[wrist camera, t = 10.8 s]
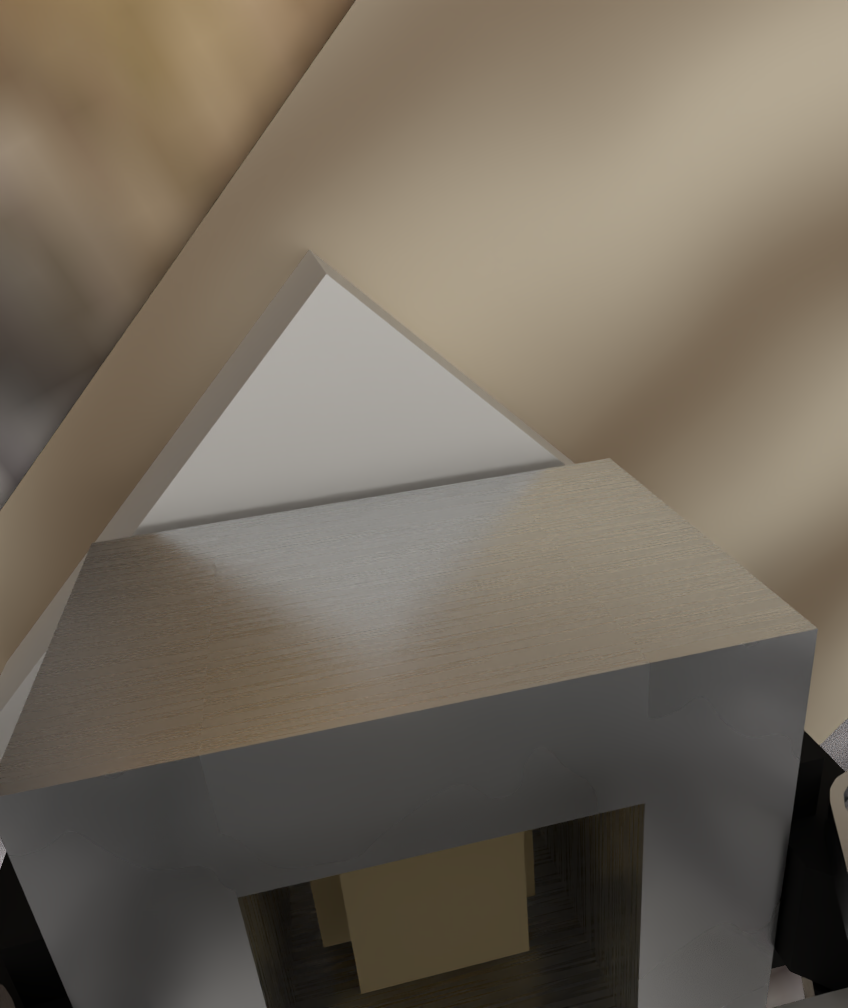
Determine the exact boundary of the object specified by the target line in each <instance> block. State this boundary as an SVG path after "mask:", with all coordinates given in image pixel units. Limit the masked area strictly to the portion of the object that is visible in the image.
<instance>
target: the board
mask: <svg viewBox="0 0 848 1008" xmlns="http://www.w3.org/2000/svg"><path fill="white" fill-rule="evenodd" d="M309 250H311V251H312V252H313V253H314V254H316V255H317V256H318V257H319V258H321V259H322V260H323V261H324V262H325V263H327V264H328V265H329V266H330V267H332V268H333V269H334V270H335V271H337V272H338V273H339V274H340V275H342V276H343V277H344V278H345V279H347V280H348V281H349V282H350V283H352V284H353V285H354V286H355V287H356V288H358V289H359V290H360V291H361V292H363V293H364V294H365V295H366V296H368V297H369V298H370V299H371V300H373V301H374V302H375V303H376V304H378V305H379V306H380V307H381V308H383V309H384V310H385V311H386V312H388V313H389V314H390V315H391V316H392V317H394V318H395V319H396V320H397V321H399V322H400V323H401V324H402V325H404V326H405V327H406V328H407V329H409V330H410V331H411V332H412V333H414V334H415V335H416V336H417V337H419V338H420V339H421V340H422V341H423V342H425V343H426V344H427V345H428V346H430V347H431V348H432V349H433V350H435V351H436V352H437V353H438V354H440V355H441V356H442V357H443V358H445V359H446V360H447V361H448V362H450V363H451V364H452V365H453V366H455V367H456V368H457V369H458V370H459V371H461V372H462V373H463V374H464V375H466V376H467V377H468V378H469V379H471V380H472V381H473V382H474V383H476V384H477V385H478V386H479V387H481V388H482V389H483V390H484V391H486V392H487V393H488V394H489V395H490V396H492V397H493V398H494V399H495V400H497V401H498V402H499V403H500V404H502V405H503V406H504V407H505V408H507V409H508V410H509V411H510V412H512V413H513V414H514V415H515V416H517V417H518V418H519V419H520V420H522V421H523V422H524V423H525V424H526V425H528V426H529V427H530V428H531V429H533V430H534V431H535V432H536V433H538V434H539V435H540V436H541V437H543V438H544V439H545V440H546V441H548V442H549V443H550V444H551V445H553V446H554V447H555V448H556V449H557V450H559V451H560V452H561V453H562V454H564V455H565V456H566V457H567V458H569V459H570V460H571V461H572V462H574V463H575V464H578V463H584V462H590V461H596V460H602V459H608V458H610V459H611V460H613V461H614V462H615V463H616V464H617V465H619V466H620V467H621V468H622V469H624V470H625V471H626V472H627V473H628V474H630V475H631V476H632V477H633V478H635V479H636V480H637V481H638V482H639V483H641V484H642V485H643V486H644V487H646V488H647V489H648V490H649V491H650V492H652V493H653V494H654V495H655V496H657V497H658V498H659V499H660V500H661V501H663V502H664V503H665V504H666V505H668V506H669V507H670V508H671V509H672V510H674V511H675V512H676V513H677V514H679V515H680V516H681V517H682V518H683V519H685V520H686V521H687V522H688V523H690V524H691V525H692V526H693V527H694V528H696V529H697V530H698V531H699V532H701V533H702V534H703V535H704V536H705V537H707V538H708V539H709V540H710V541H712V542H713V543H714V544H715V545H716V546H718V547H719V548H720V549H721V550H723V551H724V552H725V553H726V554H727V555H729V556H730V557H731V558H732V559H734V560H735V561H736V562H737V563H738V564H740V565H741V566H742V567H743V568H745V569H746V570H747V571H748V572H749V573H751V574H752V575H753V576H754V577H756V578H757V579H758V580H759V581H760V582H762V583H763V584H764V585H765V586H767V587H768V588H769V589H770V590H771V591H773V592H774V593H775V594H776V595H778V596H779V597H780V598H781V599H782V600H784V601H785V602H786V603H787V604H789V605H790V606H791V607H792V608H793V609H795V610H796V611H797V612H798V613H800V614H801V615H802V616H803V617H804V618H806V619H807V620H808V621H809V622H811V623H812V624H813V625H814V626H815V627H817V628H818V632H817V639H816V646H815V654H814V661H813V668H812V675H811V683H810V690H809V697H808V704H807V712H806V719H805V726H804V730H805V731H806V732H807V733H808V734H809V735H810V736H811V737H812V739H813V740H814V741H815V742H816V743H817V744H818V745H819V746H820V745H821V744H822V743H823V742H824V741H825V740H826V739H827V738H828V737H829V736H830V735H831V734H832V733H833V732H834V731H835V730H836V729H837V728H838V727H839V726H840V725H841V724H842V723H843V722H844V721H845V720H846V719H847V718H848V0H356V1H355V2H354V4H353V5H352V7H351V8H350V9H349V11H348V12H347V14H346V15H345V17H344V18H343V19H342V21H341V22H340V24H339V25H338V27H337V28H336V29H335V31H334V32H333V34H332V35H331V37H330V38H329V40H328V41H327V42H326V44H325V45H324V47H323V48H322V50H321V51H320V52H319V54H318V55H317V57H316V58H315V60H314V61H313V63H312V64H311V65H310V67H309V68H308V70H307V71H306V73H305V74H304V75H303V77H302V78H301V80H300V81H299V83H298V84H297V86H296V87H295V88H294V90H293V91H292V93H291V94H290V96H289V97H288V98H287V100H286V101H285V103H284V104H283V106H282V107H281V108H280V110H279V111H278V113H277V114H276V116H275V117H274V119H273V120H272V121H271V123H270V124H269V126H268V127H267V129H266V130H265V131H264V133H263V134H262V136H261V137H260V139H259V140H258V142H257V143H256V144H255V146H254V147H253V149H252V150H251V152H250V153H249V154H248V156H247V157H246V159H245V160H244V162H243V163H242V164H241V166H240V167H239V169H238V170H237V172H236V173H235V175H234V176H233V177H232V179H231V180H230V182H229V183H228V185H227V186H226V187H225V189H224V190H223V192H222V193H221V195H220V196H219V198H218V199H217V200H216V202H215V203H214V205H213V206H212V208H211V209H210V210H209V212H208V213H207V215H206V216H205V218H204V219H203V220H202V222H201V223H200V225H199V226H198V228H197V229H196V231H195V232H194V233H193V235H192V236H191V238H190V239H189V241H188V242H187V243H186V245H185V246H184V248H183V249H182V251H181V252H180V254H179V255H178V256H177V258H176V259H175V261H174V262H173V264H172V265H171V266H170V268H169V269H168V271H167V272H166V274H165V275H164V276H163V278H162V279H161V281H160V282H159V284H158V285H157V287H156V288H155V289H154V291H153V292H152V294H151V295H150V297H149V298H148V299H147V301H146V302H145V304H144V305H143V307H142V308H141V310H140V311H139V312H138V314H137V315H136V317H135V318H134V320H133V321H132V322H131V324H130V325H129V327H128V328H127V330H126V331H125V332H124V334H123V335H122V337H121V338H120V340H119V341H118V343H117V344H116V345H115V347H114V348H113V350H112V351H111V353H110V354H109V355H108V357H107V358H106V360H105V361H104V363H103V364H102V366H101V367H100V368H99V370H98V371H97V373H96V374H95V376H94V377H93V378H92V380H91V381H90V383H89V384H88V386H87V387H86V389H85V390H84V391H83V393H82V394H81V396H80V397H79V399H78V400H77V401H76V403H75V404H74V406H73V407H72V409H71V410H70V411H69V413H68V414H67V416H66V417H65V419H64V420H63V422H62V423H61V424H60V426H59V427H58V429H57V430H56V432H55V433H54V434H53V436H52V437H51V439H50V440H49V442H48V443H47V445H46V446H45V447H44V449H43V450H42V452H41V453H40V455H39V456H38V457H37V459H36V460H35V462H34V463H33V465H32V466H31V467H30V469H29V470H28V472H27V473H26V475H25V476H24V478H23V479H22V480H21V482H20V483H19V485H18V486H17V488H16V489H15V490H14V492H13V493H12V495H11V496H10V498H9V499H8V501H7V502H6V503H5V505H4V506H3V508H2V509H1V511H0V675H1V673H2V671H3V669H4V667H5V665H6V663H7V661H8V660H9V658H10V657H11V656H12V654H13V653H14V652H15V650H16V649H17V647H18V646H19V645H20V643H21V642H22V641H23V639H24V638H25V637H26V635H27V634H28V632H29V631H30V630H31V628H32V627H33V626H34V624H35V623H36V622H37V620H38V619H39V617H40V616H41V615H42V613H43V612H44V611H45V609H46V608H47V607H48V605H49V604H50V602H51V601H52V600H53V598H54V597H55V596H56V594H57V593H58V592H59V590H60V589H61V587H62V586H63V585H64V583H65V582H66V581H67V579H68V578H69V577H70V575H71V574H72V573H73V571H74V570H75V568H76V567H77V566H78V564H79V563H80V562H81V560H82V559H83V558H84V556H85V555H86V553H87V552H88V551H89V549H90V546H91V544H92V543H95V541H96V540H97V538H98V537H99V536H100V534H101V533H102V532H103V530H104V529H105V528H106V526H107V525H108V523H109V522H110V521H111V519H112V518H113V517H114V515H115V514H116V513H117V511H118V510H119V508H120V507H121V506H122V504H123V503H124V502H125V500H126V499H127V498H128V496H129V495H130V493H131V492H132V491H133V489H134V488H135V487H136V485H137V484H138V483H139V481H140V480H141V478H142V477H143V476H144V474H145V473H146V472H147V470H148V469H149V468H150V466H151V465H152V463H153V462H154V461H155V459H156V458H157V457H158V455H159V454H160V453H161V451H162V450H163V448H164V447H165V446H166V444H167V443H168V442H169V440H170V439H171V438H172V436H173V435H174V433H175V432H176V431H177V429H178V428H179V427H180V425H181V424H182V423H183V421H184V420H185V418H186V417H187V416H188V414H189V413H190V412H191V410H192V409H193V408H194V406H195V405H196V403H197V402H198V401H199V399H200V398H201V397H202V395H203V394H204V393H205V391H206V390H207V388H208V387H209V386H210V384H211V383H212V382H213V380H214V379H215V378H216V376H217V375H218V373H219V372H220V371H221V369H222V368H223V367H224V365H225V364H226V363H227V361H228V360H229V358H230V357H231V356H232V354H233V353H234V352H235V350H236V349H237V348H238V346H239V345H240V343H241V342H242V341H243V339H244V338H245V337H246V335H247V334H248V333H249V331H250V330H251V328H252V327H253V326H254V324H255V323H256V322H257V320H258V319H259V318H260V316H261V315H262V313H263V312H264V311H265V309H266V308H267V307H268V305H269V304H270V303H271V301H272V300H273V298H274V297H275V296H276V294H277V293H278V292H279V290H280V289H281V288H282V286H283V285H284V283H285V282H286V281H287V279H288V278H289V277H290V275H291V274H292V273H293V271H294V270H295V268H296V267H297V266H298V264H299V263H300V262H301V260H302V259H303V258H304V256H305V255H306V253H307V252H308V251H309Z"/></svg>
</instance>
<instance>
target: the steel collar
mask: <svg viewBox="0 0 848 1008" xmlns="http://www.w3.org/2000/svg"><path fill="white" fill-rule="evenodd" d="M817 632H818V628H817V627H815V626H814V625H813V624H812V623H811V622H809V621H808V620H807V619H806V618H804V617H803V616H802V615H801V614H800V613H798V612H797V611H796V610H795V609H793V608H792V607H791V606H790V605H789V604H787V603H786V602H785V601H784V600H782V599H781V598H780V597H779V596H778V595H776V594H775V593H774V592H773V591H771V590H770V589H769V588H768V587H767V586H765V585H764V584H763V583H762V582H760V581H759V580H758V579H757V578H756V577H754V576H753V575H752V574H751V573H749V572H748V571H747V570H746V569H745V568H743V567H742V566H741V565H740V564H738V563H737V562H736V561H735V560H734V559H732V558H731V557H730V556H729V555H727V554H726V553H725V552H724V551H723V550H721V549H720V548H719V547H718V546H716V545H715V544H714V543H713V542H712V541H710V540H709V539H708V538H707V537H705V536H704V535H703V534H702V533H701V532H699V531H698V530H697V529H696V528H694V527H693V526H692V525H691V524H690V523H688V522H687V521H686V520H685V519H683V518H682V517H681V516H680V515H679V514H677V513H676V512H675V511H674V510H672V509H671V508H670V507H669V506H668V505H666V504H665V503H664V502H663V501H661V500H660V499H659V498H658V497H657V496H655V495H654V494H653V493H652V492H650V491H649V490H648V489H647V488H646V487H644V486H643V485H642V484H641V483H639V482H638V481H637V480H636V479H635V478H633V477H632V476H631V475H630V474H628V473H627V472H626V471H625V470H624V469H622V468H621V467H620V466H619V465H617V464H616V463H615V462H614V461H613V460H611V459H610V458H608V459H602V460H596V461H590V462H584V463H578V464H571V465H565V466H559V467H553V468H547V469H541V470H535V471H529V472H523V473H516V474H510V475H504V476H498V477H492V478H486V479H480V480H474V481H468V482H461V483H455V484H449V485H443V486H437V487H431V488H425V489H419V490H413V491H406V492H400V493H394V494H388V495H382V496H376V497H370V498H364V499H358V500H351V501H345V502H339V503H333V504H327V505H321V506H315V507H309V508H302V509H296V510H290V511H284V512H278V513H272V514H266V515H260V516H254V517H247V518H241V519H235V520H229V521H223V522H217V523H211V524H205V525H199V526H192V527H186V528H180V529H174V530H168V531H162V532H156V533H150V534H144V535H137V536H131V537H125V538H119V539H113V540H107V541H101V542H95V543H92V544H91V546H90V549H89V551H88V553H87V556H86V558H85V561H84V563H83V565H82V568H81V570H80V573H79V575H78V577H77V580H76V582H75V585H74V587H73V589H72V592H71V594H70V597H69V599H68V601H67V604H66V606H65V608H64V611H63V613H62V616H61V618H60V620H59V623H58V625H57V628H56V630H55V632H54V635H53V637H52V640H51V642H50V644H49V647H48V649H47V652H46V654H45V656H44V659H43V661H42V664H41V666H40V668H39V671H38V673H37V676H36V678H35V680H34V683H33V685H32V688H31V690H30V692H29V695H28V697H27V700H26V702H25V704H24V707H23V709H22V712H21V714H20V716H19V719H18V721H17V724H16V726H15V728H14V731H13V733H12V736H11V738H10V740H9V743H8V745H7V748H6V750H5V752H4V755H3V757H2V760H1V762H0V837H1V839H2V842H3V844H4V846H5V849H6V851H7V853H8V856H9V858H10V860H11V863H12V865H13V867H14V870H15V872H16V875H17V877H18V879H19V882H20V884H21V886H22V889H23V891H24V893H25V896H26V898H27V901H28V903H29V905H30V908H31V910H32V912H33V915H34V917H35V919H36V922H37V924H38V926H39V929H40V931H41V934H42V936H43V938H44V941H45V943H46V945H47V948H48V950H49V952H50V955H51V957H52V959H53V962H54V964H55V967H56V969H57V971H58V974H59V976H60V978H61V981H62V983H63V985H64V988H65V990H66V993H67V995H68V997H69V1000H70V1002H71V1004H72V1007H73V1008H766V1002H767V995H768V988H769V980H770V973H771V966H772V959H773V951H774V944H775V937H776V930H777V922H778V915H779V908H780V901H781V893H782V886H783V879H784V871H785V864H786V857H787V850H788V842H789V835H790V828H791V821H792V813H793V806H794V799H795V792H796V784H797V777H798V770H799V763H800V755H801V748H802V741H803V733H804V726H805V719H806V712H807V704H808V697H809V690H810V683H811V675H812V668H813V661H814V654H815V646H816V639H817ZM531 829H532V835H533V857H534V880H535V896H531V897H527V912H528V932H529V951H527V952H523V953H519V954H515V955H511V956H507V957H503V958H500V959H496V960H492V961H488V962H484V963H480V964H476V965H472V966H469V967H465V968H461V969H457V970H453V971H449V972H445V973H441V974H437V975H434V976H430V977H426V978H422V979H418V980H414V981H410V982H406V983H403V984H399V985H395V986H391V987H387V988H383V989H379V990H375V991H371V992H368V993H364V994H361V990H360V984H359V979H358V974H357V968H356V963H355V958H354V952H353V947H352V942H351V941H349V942H345V943H341V944H337V945H333V946H329V947H325V948H324V946H323V941H322V937H321V932H320V927H319V922H318V918H317V913H316V908H315V903H314V899H313V894H312V889H311V884H310V881H312V880H317V879H321V878H325V877H329V876H334V875H338V874H342V873H347V872H351V871H355V870H360V869H364V868H368V867H372V866H377V865H381V864H385V863H390V862H394V861H398V860H402V859H407V858H411V857H415V856H420V855H424V854H428V853H433V852H437V851H441V850H445V849H450V848H454V847H458V846H463V845H467V844H471V843H476V842H480V841H484V840H488V839H493V838H497V837H501V836H506V835H510V834H514V833H518V832H523V831H527V830H531Z"/></svg>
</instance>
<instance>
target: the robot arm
mask: <svg viewBox="0 0 848 1008" xmlns="http://www.w3.org/2000/svg"><path fill="white" fill-rule="evenodd" d="M783 965H786V966H787V968H788V969H789V971H791V972H793V973H795V974H797V975H800V976H802V983H803V989H804V995H805V999H803V1000H799V1001H796V1002H792V1003H788V1004H785V1005H781V1006H778V1007H774V1008H848V771H846V772H845V771H844V770H843V769H842V768H841V767H840V766H839V765H838V764H837V763H836V762H835V761H834V760H833V759H832V758H831V757H830V756H829V755H828V754H827V753H826V752H825V751H824V750H823V749H822V748H821V747H820V746H819V745H818V744H817V743H816V742H815V741H814V740H813V739H812V737H811V736H810V735H809V734H808V733H807V732H806V731H805V730H804V733H803V741H802V748H801V755H800V763H799V770H798V777H797V784H796V792H795V799H794V806H793V813H792V821H791V828H790V835H789V842H788V850H787V857H786V864H785V871H784V879H783V886H782V893H781V901H780V908H779V915H778V922H777V930H776V937H775V944H774V951H773V959H772V966H771V969H772V968H776V967H780V966H783ZM0 1008H73V1007H72V1004H71V1002H70V1000H69V997H68V995H67V993H66V990H65V988H64V985H63V983H62V981H61V978H60V976H59V974H58V971H57V969H56V967H55V964H54V962H53V959H52V957H51V955H50V952H49V950H48V948H47V945H46V943H45V941H44V938H43V936H42V934H41V931H40V929H39V926H38V924H37V922H36V919H35V917H34V915H33V912H32V910H31V908H30V905H29V903H28V901H27V898H26V896H25V893H24V891H23V889H22V886H21V884H20V882H19V879H18V877H17V875H16V872H15V870H14V867H13V865H12V863H11V860H10V858H9V856H8V853H7V852H6V855H5V857H4V860H3V863H2V866H1V869H0Z"/></svg>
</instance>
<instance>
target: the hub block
mask: <svg viewBox="0 0 848 1008" xmlns="http://www.w3.org/2000/svg"><path fill="white" fill-rule="evenodd" d="M571 464H575V463H574V462H572V461H571V460H570V459H569V458H567V457H566V456H565V455H564V454H562V453H561V452H560V451H559V450H557V449H556V448H555V447H554V446H553V445H551V444H550V443H549V442H548V441H546V440H545V439H544V438H543V437H541V436H540V435H539V434H538V433H536V432H535V431H534V430H533V429H531V428H530V427H529V426H528V425H526V424H525V423H524V422H523V421H522V420H520V419H519V418H518V417H517V416H515V415H514V414H513V413H512V412H510V411H509V410H508V409H507V408H505V407H504V406H503V405H502V404H500V403H499V402H498V401H497V400H495V399H494V398H493V397H492V396H490V395H489V394H488V393H487V392H486V391H484V390H483V389H482V388H481V387H479V386H478V385H477V384H476V383H474V382H473V381H472V380H471V379H469V378H468V377H467V376H466V375H464V374H463V373H462V372H461V371H459V370H458V369H457V368H456V367H455V366H453V365H452V364H451V363H450V362H448V361H447V360H446V359H445V358H443V357H442V356H441V355H440V354H438V353H437V352H436V351H435V350H433V349H432V348H431V347H430V346H428V345H427V344H426V343H425V342H423V341H422V340H421V339H420V338H419V337H417V336H416V335H415V334H414V333H412V332H411V331H410V330H409V329H407V328H406V327H405V326H404V325H402V324H401V323H400V322H399V321H397V320H396V319H395V318H394V317H392V316H391V315H390V314H389V313H388V312H386V311H385V310H384V309H383V308H381V307H380V306H379V305H378V304H376V303H375V302H374V301H373V300H371V299H370V298H369V297H368V296H366V295H365V294H364V293H363V292H361V291H360V290H359V289H358V288H356V287H355V286H354V285H353V284H352V283H350V282H349V281H348V280H347V279H345V278H344V277H343V276H342V275H340V274H339V273H338V272H337V271H335V270H334V269H333V268H332V267H330V266H329V265H328V264H327V263H325V262H324V261H323V260H322V259H321V258H319V257H318V256H317V255H316V254H314V253H313V252H312V251H311V250H309V251H308V252H307V253H306V255H305V256H304V258H303V259H302V260H301V262H300V263H299V264H298V266H297V267H296V268H295V270H294V271H293V273H292V274H291V275H290V277H289V278H288V279H287V281H286V282H285V283H284V285H283V286H282V288H281V289H280V290H279V292H278V293H277V294H276V296H275V297H274V298H273V300H272V301H271V303H270V304H269V305H268V307H267V308H266V309H265V311H264V312H263V313H262V315H261V316H260V318H259V319H258V320H257V322H256V323H255V324H254V326H253V327H252V328H251V330H250V331H249V333H248V334H247V335H246V337H245V338H244V339H243V341H242V342H241V343H240V345H239V346H238V348H237V349H236V350H235V352H234V353H233V354H232V356H231V357H230V358H229V360H228V361H227V363H226V364H225V365H224V367H223V368H222V369H221V371H220V372H219V373H218V375H217V376H216V378H215V379H214V380H213V382H212V383H211V384H210V386H209V387H208V388H207V390H206V391H205V393H204V394H203V395H202V397H201V398H200V399H199V401H198V402H197V403H196V405H195V406H194V408H193V409H192V410H191V412H190V413H189V414H188V416H187V417H186V418H185V420H184V421H183V423H182V424H181V425H180V427H179V428H178V429H177V431H176V432H175V433H174V435H173V436H172V438H171V439H170V440H169V442H168V443H167V444H166V446H165V447H164V448H163V450H162V451H161V453H160V454H159V455H158V457H157V458H156V459H155V461H154V462H153V463H152V465H151V466H150V468H149V469H148V470H147V472H146V473H145V474H144V476H143V477H142V478H141V480H140V481H139V483H138V484H137V485H136V487H135V488H134V489H133V491H132V492H131V493H130V495H129V496H128V498H127V499H126V500H125V502H124V503H123V504H122V506H121V507H120V508H119V510H118V511H117V513H116V514H115V515H114V517H113V518H112V519H111V521H110V522H109V523H108V525H107V526H106V528H105V529H104V530H103V532H102V533H101V534H100V536H99V537H98V538H97V540H96V541H95V542H101V541H107V540H113V539H119V538H125V537H131V536H137V535H144V534H150V533H156V532H162V531H168V530H174V529H180V528H186V527H192V526H199V525H205V524H211V523H217V522H223V521H229V520H235V519H241V518H247V517H254V516H260V515H266V514H272V513H278V512H284V511H290V510H296V509H302V508H309V507H315V506H321V505H327V504H333V503H339V502H345V501H351V500H358V499H364V498H370V497H376V496H382V495H388V494H394V493H400V492H406V491H413V490H419V489H425V488H431V487H437V486H443V485H449V484H455V483H461V482H468V481H474V480H480V479H486V478H492V477H498V476H504V475H510V474H516V473H523V472H529V471H535V470H541V469H547V468H553V467H559V466H565V465H571ZM87 553H88V552H87ZM87 553H86V555H85V556H84V558H83V559H82V560H81V562H80V563H79V564H78V566H77V567H76V568H75V570H74V571H73V573H72V574H71V575H70V577H69V578H68V579H67V581H66V582H65V583H64V585H63V586H62V587H61V589H60V590H59V592H58V593H57V594H56V596H55V597H54V598H53V600H52V601H51V602H50V604H49V605H48V607H47V608H46V609H45V611H44V612H43V613H42V615H41V616H40V617H39V619H38V620H37V622H36V623H35V624H34V626H33V627H32V628H31V630H30V631H29V632H28V634H27V635H26V637H25V638H24V639H23V641H22V642H21V643H20V645H19V646H18V647H17V649H16V650H15V652H14V653H13V654H12V656H11V657H10V658H9V660H8V661H7V663H6V665H5V667H4V669H3V671H2V673H1V675H0V762H1V760H2V757H3V755H4V752H5V750H6V748H7V745H8V743H9V740H10V738H11V736H12V733H13V731H14V728H15V726H16V724H17V721H18V719H19V716H20V714H21V712H22V709H23V707H24V704H25V702H26V700H27V697H28V695H29V692H30V690H31V688H32V685H33V683H34V680H35V678H36V676H37V673H38V671H39V668H40V666H41V664H42V661H43V659H44V656H45V654H46V652H47V649H48V647H49V644H50V642H51V640H52V637H53V635H54V632H55V630H56V628H57V625H58V623H59V620H60V618H61V616H62V613H63V611H64V608H65V606H66V604H67V601H68V599H69V597H70V594H71V592H72V589H73V587H74V585H75V582H76V580H77V577H78V575H79V573H80V570H81V568H82V565H83V563H84V561H85V558H86V556H87ZM310 884H311V889H312V894H313V899H314V903H315V908H316V913H317V918H318V922H319V927H320V932H321V937H322V941H323V946H324V948H325V947H329V946H333V945H337V944H341V943H345V942H349V941H351V942H352V947H353V952H354V958H355V963H356V968H357V974H358V979H359V984H360V990H361V994H364V993H368V992H371V991H375V990H379V989H383V988H387V987H391V986H395V985H399V984H403V983H406V982H410V981H414V980H418V979H422V978H426V977H430V976H434V975H437V974H441V973H445V972H449V971H453V970H457V969H461V968H465V967H469V966H472V965H476V964H480V963H484V962H488V961H492V960H496V959H500V958H503V957H507V956H511V955H515V954H519V953H523V952H527V951H529V932H528V912H527V897H531V896H535V880H534V857H533V835H532V829H531V830H527V831H523V832H518V833H514V834H510V835H506V836H501V837H497V838H493V839H488V840H484V841H480V842H476V843H471V844H467V845H463V846H458V847H454V848H450V849H445V850H441V851H437V852H433V853H428V854H424V855H420V856H415V857H411V858H407V859H402V860H398V861H394V862H390V863H385V864H381V865H377V866H372V867H368V868H364V869H360V870H355V871H351V872H347V873H342V874H338V875H334V876H329V877H325V878H321V879H317V880H312V881H310Z"/></svg>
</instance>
